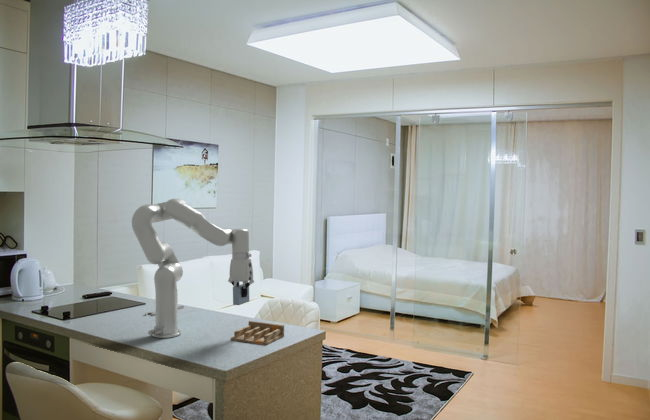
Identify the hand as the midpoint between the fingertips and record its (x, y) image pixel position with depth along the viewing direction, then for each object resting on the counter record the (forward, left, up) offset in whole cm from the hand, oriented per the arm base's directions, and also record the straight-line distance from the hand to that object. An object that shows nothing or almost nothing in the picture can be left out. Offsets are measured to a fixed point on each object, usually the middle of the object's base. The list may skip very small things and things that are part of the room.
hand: (241, 296), depth 232 cm
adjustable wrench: (+23, +62, -18) cm, 69 cm away
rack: (0, -9, -18) cm, 20 cm away
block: (0, 0, -3) cm, 3 cm away
